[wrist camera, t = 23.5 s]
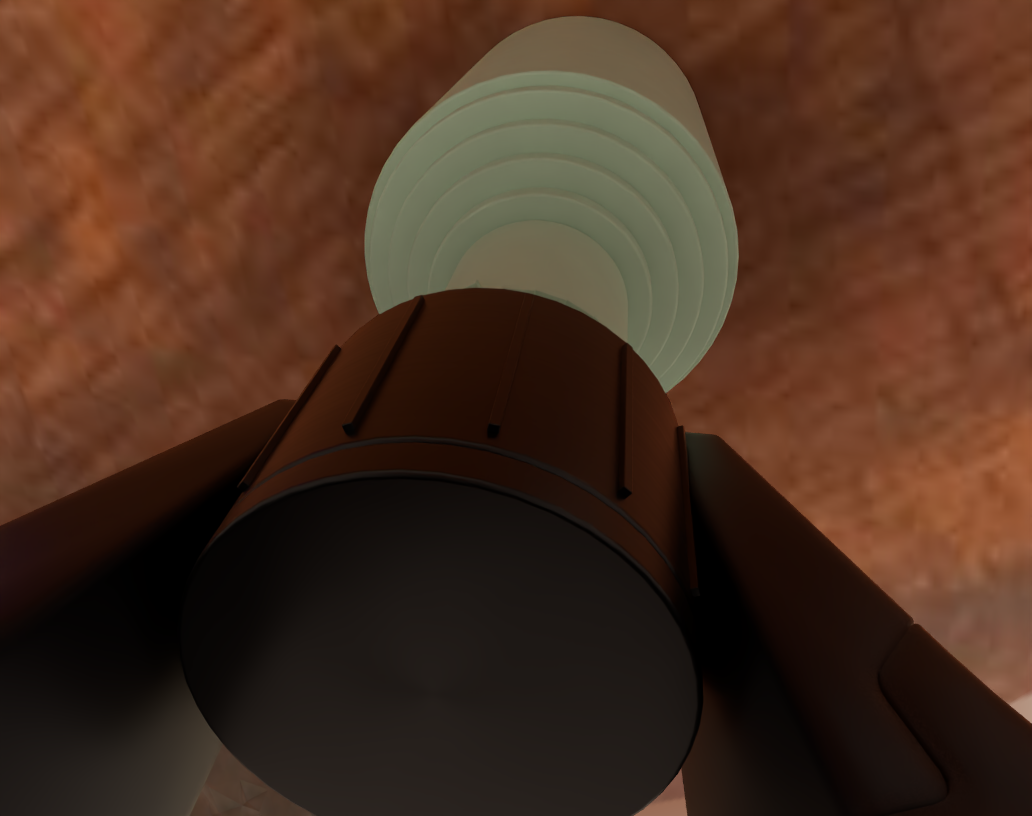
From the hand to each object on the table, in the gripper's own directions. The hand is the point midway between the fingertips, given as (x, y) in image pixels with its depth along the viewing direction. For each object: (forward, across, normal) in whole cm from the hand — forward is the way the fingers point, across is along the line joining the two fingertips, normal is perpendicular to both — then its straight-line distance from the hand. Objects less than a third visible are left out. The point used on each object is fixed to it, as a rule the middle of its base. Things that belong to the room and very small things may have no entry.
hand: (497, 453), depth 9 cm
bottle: (+13, 0, 0) cm, 13 cm away
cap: (0, 0, 0) cm, 0 cm away
